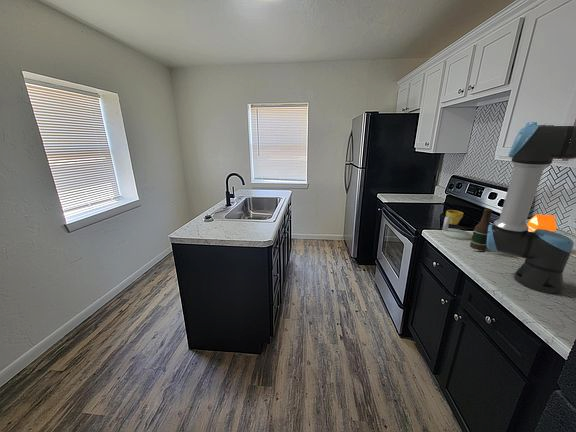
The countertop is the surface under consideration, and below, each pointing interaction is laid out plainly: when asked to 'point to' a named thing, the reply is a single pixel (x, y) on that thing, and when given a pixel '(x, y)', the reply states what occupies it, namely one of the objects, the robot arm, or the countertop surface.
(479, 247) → the beer bottle
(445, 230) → the capstan dial
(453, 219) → the plant pot
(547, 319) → the countertop surface
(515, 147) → the robot arm
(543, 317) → the countertop surface
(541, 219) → the orange juice
